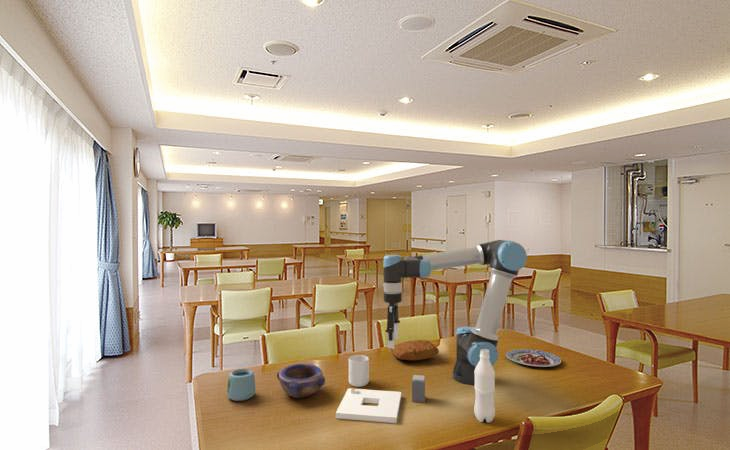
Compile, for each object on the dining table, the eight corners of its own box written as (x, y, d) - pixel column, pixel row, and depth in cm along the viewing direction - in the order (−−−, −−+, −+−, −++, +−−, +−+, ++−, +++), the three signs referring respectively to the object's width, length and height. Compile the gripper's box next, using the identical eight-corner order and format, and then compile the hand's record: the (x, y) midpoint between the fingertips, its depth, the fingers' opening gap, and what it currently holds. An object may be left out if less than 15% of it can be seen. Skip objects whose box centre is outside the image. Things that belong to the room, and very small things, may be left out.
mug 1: (225, 390, 174) (225, 366, 173) (252, 386, 178) (252, 363, 178) (228, 404, 160) (228, 379, 160) (257, 400, 164) (257, 375, 164)
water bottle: (471, 415, 151) (471, 347, 151) (490, 414, 152) (490, 346, 152) (478, 424, 144) (478, 353, 144) (498, 424, 145) (498, 353, 144)
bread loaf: (427, 352, 224) (427, 337, 224) (440, 362, 207) (440, 347, 207) (388, 355, 219) (388, 340, 219) (398, 366, 202) (398, 350, 202)
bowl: (286, 407, 158) (286, 381, 158) (273, 390, 174) (273, 366, 174) (329, 398, 166) (329, 373, 166) (313, 382, 182) (313, 359, 182)
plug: (425, 397, 167) (425, 375, 167) (424, 402, 162) (424, 380, 162) (412, 396, 168) (412, 374, 168) (411, 401, 163) (412, 379, 163)
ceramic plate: (564, 358, 214) (564, 353, 214) (557, 374, 192) (557, 368, 192) (512, 350, 228) (512, 345, 228) (500, 364, 206) (500, 358, 206)
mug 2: (370, 387, 177) (370, 361, 177) (350, 388, 175) (350, 362, 175) (365, 376, 189) (365, 352, 189) (346, 377, 187) (346, 353, 187)
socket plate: (401, 396, 167) (401, 389, 167) (396, 423, 145) (396, 414, 145) (348, 393, 171) (348, 385, 171) (335, 418, 149) (335, 409, 149)
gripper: (387, 287, 184) (388, 334, 184) (378, 297, 160) (379, 352, 160) (404, 287, 183) (405, 335, 183) (398, 298, 158) (398, 353, 159)
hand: (393, 343), depth 172 cm, fingers open, 13 cm apart
